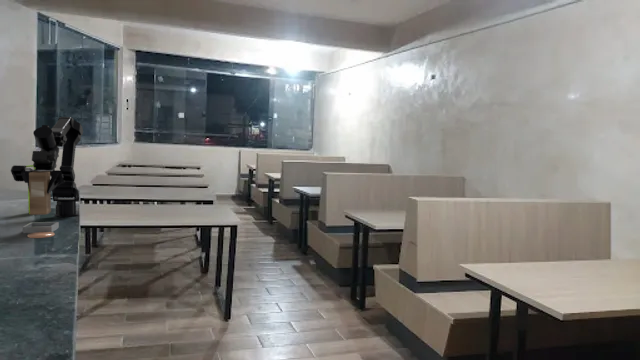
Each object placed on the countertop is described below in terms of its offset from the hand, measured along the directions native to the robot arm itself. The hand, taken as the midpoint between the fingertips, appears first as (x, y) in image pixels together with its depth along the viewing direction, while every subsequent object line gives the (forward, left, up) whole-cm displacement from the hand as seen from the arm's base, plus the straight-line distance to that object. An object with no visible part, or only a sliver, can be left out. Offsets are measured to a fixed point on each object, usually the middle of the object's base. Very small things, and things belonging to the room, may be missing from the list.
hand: (38, 192), depth 158 cm
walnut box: (-1, -1, -7) cm, 7 cm away
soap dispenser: (-20, -39, -14) cm, 46 cm away
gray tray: (-2, -2, -14) cm, 14 cm away
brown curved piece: (+3, +6, -14) cm, 15 cm away
